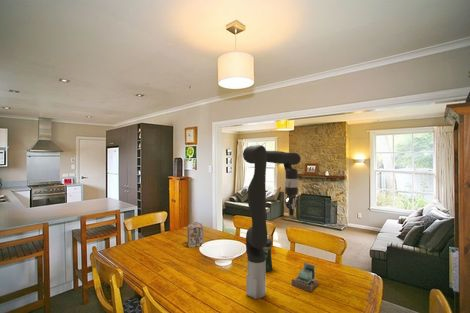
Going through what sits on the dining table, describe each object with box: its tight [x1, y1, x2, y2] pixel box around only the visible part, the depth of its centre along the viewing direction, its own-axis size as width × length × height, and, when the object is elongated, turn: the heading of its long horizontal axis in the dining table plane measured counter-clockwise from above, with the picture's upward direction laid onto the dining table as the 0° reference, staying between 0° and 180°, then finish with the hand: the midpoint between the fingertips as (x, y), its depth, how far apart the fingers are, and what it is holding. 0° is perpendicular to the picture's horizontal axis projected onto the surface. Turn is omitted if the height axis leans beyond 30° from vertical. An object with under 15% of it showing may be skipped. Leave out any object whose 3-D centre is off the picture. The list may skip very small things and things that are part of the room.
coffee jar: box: [263, 238, 273, 272], centre depth 146 cm, size 10×8×19 cm
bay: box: [291, 275, 319, 293], centre depth 127 cm, size 11×10×3 cm
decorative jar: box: [186, 221, 205, 248], centre depth 187 cm, size 12×12×18 cm
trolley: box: [297, 262, 316, 285], centre depth 128 cm, size 9×6×9 cm, turn 139°
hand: (291, 215), depth 139 cm, fingers closed
